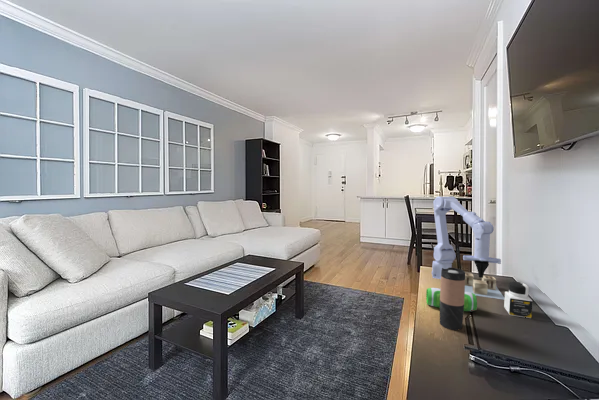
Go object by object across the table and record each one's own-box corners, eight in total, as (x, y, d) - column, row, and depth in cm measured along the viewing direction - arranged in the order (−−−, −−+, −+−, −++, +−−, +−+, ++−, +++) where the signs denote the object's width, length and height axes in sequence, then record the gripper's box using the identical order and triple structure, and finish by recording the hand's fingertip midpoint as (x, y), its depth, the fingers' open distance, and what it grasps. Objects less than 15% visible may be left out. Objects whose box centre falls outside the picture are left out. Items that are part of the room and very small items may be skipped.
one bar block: (461, 285, 140) (462, 274, 140) (460, 281, 145) (460, 271, 145) (473, 286, 138) (473, 276, 138) (471, 283, 143) (472, 273, 143)
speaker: (427, 308, 115) (428, 290, 115) (425, 301, 122) (426, 284, 121) (477, 315, 109) (478, 296, 109) (472, 307, 116) (473, 289, 116)
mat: (463, 294, 129) (463, 293, 129) (458, 281, 148) (458, 280, 148) (505, 301, 123) (506, 299, 123) (495, 286, 141) (495, 284, 141)
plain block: (474, 293, 130) (474, 282, 129) (472, 289, 134) (473, 279, 134) (487, 295, 128) (487, 284, 127) (484, 291, 132) (485, 280, 132)
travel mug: (462, 332, 96) (465, 275, 95) (437, 326, 100) (440, 271, 99) (463, 323, 103) (466, 269, 101) (440, 318, 107) (442, 266, 105)
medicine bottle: (509, 315, 110) (510, 285, 109) (503, 307, 116) (505, 279, 115) (531, 318, 107) (533, 287, 106) (524, 311, 114) (526, 281, 113)
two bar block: (483, 288, 136) (483, 278, 136) (481, 285, 141) (481, 275, 140) (495, 290, 134) (496, 279, 134) (493, 286, 139) (493, 276, 138)
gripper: (465, 248, 129) (463, 277, 130) (503, 251, 123) (501, 282, 124) (463, 245, 136) (461, 273, 136) (499, 248, 130) (497, 277, 130)
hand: (480, 277), depth 131 cm, fingers closed
